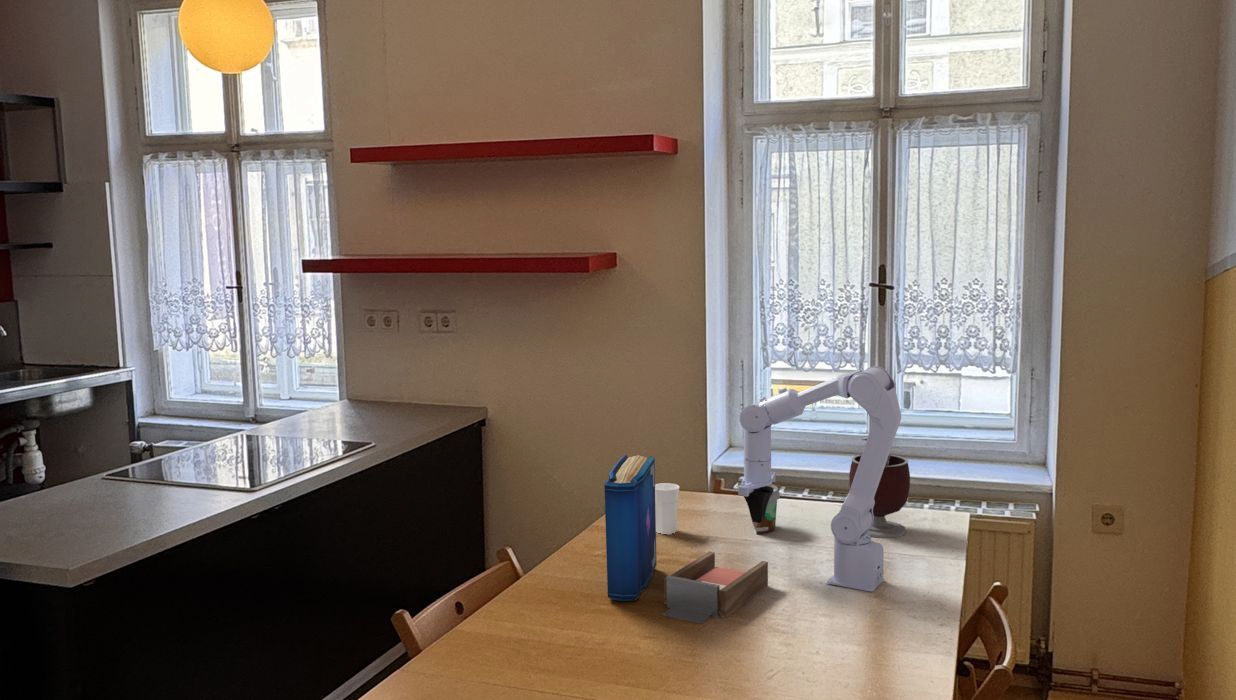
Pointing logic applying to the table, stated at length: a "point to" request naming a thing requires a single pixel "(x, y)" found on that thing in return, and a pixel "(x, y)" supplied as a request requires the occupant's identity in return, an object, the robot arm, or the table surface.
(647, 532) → the book
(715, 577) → the boxed book
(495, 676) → the table surface
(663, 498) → the cup
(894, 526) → the mate gourd
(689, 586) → the bookend
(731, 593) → the brown wooden drawer
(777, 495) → the food container
